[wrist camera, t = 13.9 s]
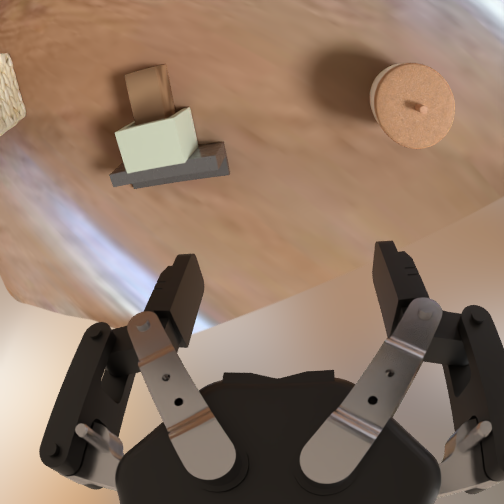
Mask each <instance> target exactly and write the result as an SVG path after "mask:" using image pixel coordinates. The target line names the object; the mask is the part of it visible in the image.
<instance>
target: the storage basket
mask: <svg viewBox="0 0 504 504" xmlns="http://www.w3.org/2000/svg"><path fill="white" fill-rule="evenodd" d="M7 59H8V60H7ZM25 115H26V110H25V106H24V103H23V101H22V96H21V93H20V91H19V86H18V82H17V79H16V75H15V72H14V69H13V63H12V60H11V58H10V55H9V54H8V53H5V54H4V53H3V54H0V136H2V135H3V134H4V133H5V132H7V131H8V130H9V129H11V128H12V127H14V126H15V125H16V124H17V123H18V121H20V120H21V119H23V118H24V117H25Z"/></svg>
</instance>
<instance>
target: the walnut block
mask: <svg viewBox="0 0 504 504" xmlns="http://www.w3.org/2000/svg"><path fill="white" fill-rule="evenodd" d="M124 76H125V81H126V85H127V90H128V95H129V99H130V104H131V108H132V112H133V117H134V121H135V125H136V126H137V125H140V124H144V123H148V122H153V121H157V120H161V119H165V118H169V117H171V116H172V115H174V114H175V113H176V111H175V107H174V102H173V96H172V91H171V86H170V81H169V76H168V70H167V65H166V64H165V65H159V66H154V67H150V68H147V69H143V70H139V71H136V72H133V73H129V74H126V75H124Z"/></svg>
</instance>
